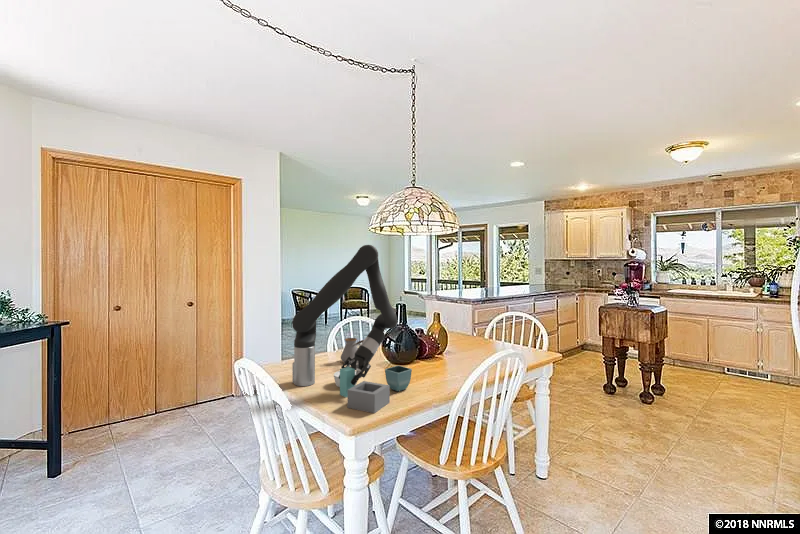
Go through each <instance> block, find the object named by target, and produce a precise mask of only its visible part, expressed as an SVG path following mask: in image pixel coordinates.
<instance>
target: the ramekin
mask: <svg viewBox="0 0 800 534" xmlns="http://www.w3.org/2000/svg"><path fill="white" fill-rule="evenodd" d="M339 375H340V370H337V371H335V372H334V373H333V379H334V382H335V385H336V387H337V388H340V379H339V378H338V377H339ZM355 375H356V370H355ZM357 383H358V382H357ZM357 383H356V384H355V385H357Z"/></svg>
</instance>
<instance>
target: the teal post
mask: <svg viewBox="0 0 800 534" xmlns="http://www.w3.org/2000/svg"><path fill="white" fill-rule="evenodd" d="M345 367H346V366H345ZM350 367H351V366H350ZM350 367H346V368H339V371H340V387H339V395H340V396H341V397H344V398H347V399H348V389H350V388H352V387H354V386H355V385H352V384H351V380H352V379H353V377H354V376H355V371H356V370H355V369H353V368H350Z"/></svg>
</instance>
